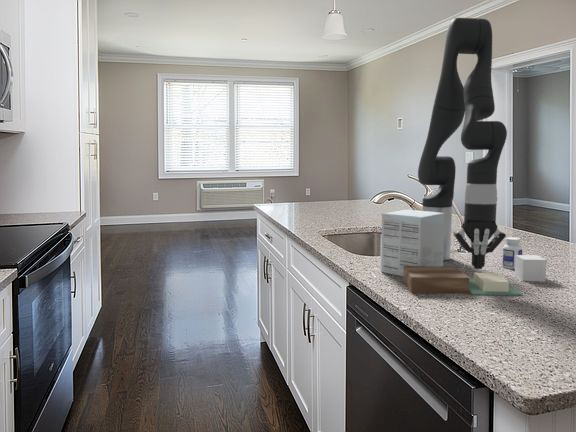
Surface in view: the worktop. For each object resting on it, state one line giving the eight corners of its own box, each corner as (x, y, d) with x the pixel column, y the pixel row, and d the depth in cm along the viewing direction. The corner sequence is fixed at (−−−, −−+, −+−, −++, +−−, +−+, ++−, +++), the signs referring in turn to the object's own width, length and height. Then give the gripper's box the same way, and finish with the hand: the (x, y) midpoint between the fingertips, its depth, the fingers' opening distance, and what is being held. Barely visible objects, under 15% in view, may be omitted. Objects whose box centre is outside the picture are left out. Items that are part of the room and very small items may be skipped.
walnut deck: (403, 280, 135) (403, 266, 135) (455, 281, 134) (456, 266, 134) (411, 293, 123) (411, 277, 123) (468, 293, 122) (469, 277, 122)
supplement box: (404, 264, 154) (405, 209, 152) (443, 271, 145) (445, 212, 142) (379, 272, 145) (380, 212, 143) (419, 280, 135) (421, 217, 133)
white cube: (514, 275, 140) (515, 254, 139) (536, 276, 139) (537, 255, 139) (522, 281, 134) (523, 259, 133) (545, 281, 133) (546, 259, 133)
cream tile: (497, 273, 131) (496, 282, 131) (474, 272, 131) (473, 281, 132) (509, 281, 122) (508, 291, 122) (483, 281, 123) (483, 291, 123)
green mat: (456, 280, 135) (456, 278, 135) (501, 280, 134) (501, 279, 134) (471, 294, 121) (472, 293, 121) (522, 295, 120) (522, 293, 120)
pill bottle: (516, 265, 152) (517, 236, 151) (524, 269, 147) (526, 239, 146) (499, 265, 152) (500, 237, 151) (507, 269, 147) (508, 240, 146)
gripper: (502, 199, 128) (499, 265, 130) (450, 199, 129) (448, 264, 131) (513, 202, 121) (509, 272, 123) (457, 202, 122) (455, 271, 124)
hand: (477, 268), depth 127 cm, fingers closed
